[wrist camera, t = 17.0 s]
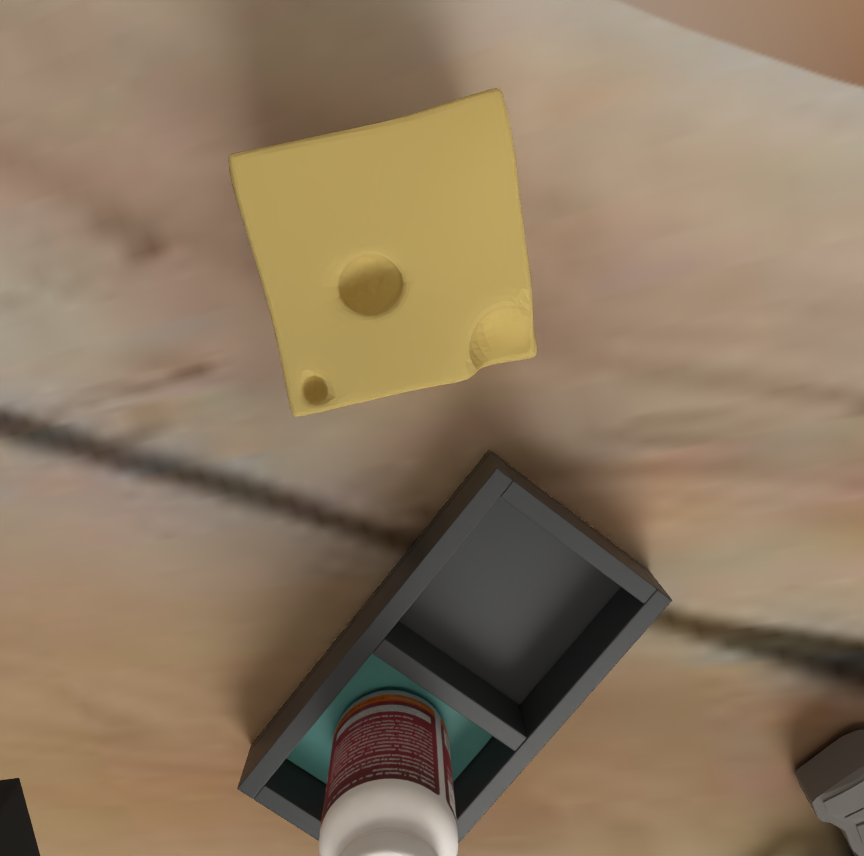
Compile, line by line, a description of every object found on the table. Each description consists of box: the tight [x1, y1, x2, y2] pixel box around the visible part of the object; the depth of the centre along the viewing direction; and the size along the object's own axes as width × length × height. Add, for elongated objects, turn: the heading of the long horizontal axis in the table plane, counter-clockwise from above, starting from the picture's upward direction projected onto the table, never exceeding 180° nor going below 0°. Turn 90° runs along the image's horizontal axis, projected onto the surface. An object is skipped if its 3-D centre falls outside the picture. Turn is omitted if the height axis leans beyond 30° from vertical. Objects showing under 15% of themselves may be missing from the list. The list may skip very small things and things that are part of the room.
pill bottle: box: [319, 690, 458, 856], centre depth 37 cm, size 6×6×11 cm
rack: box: [237, 451, 672, 843], centre depth 40 cm, size 11×21×4 cm, turn 142°
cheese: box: [229, 88, 537, 417], centre depth 33 cm, size 10×11×10 cm
